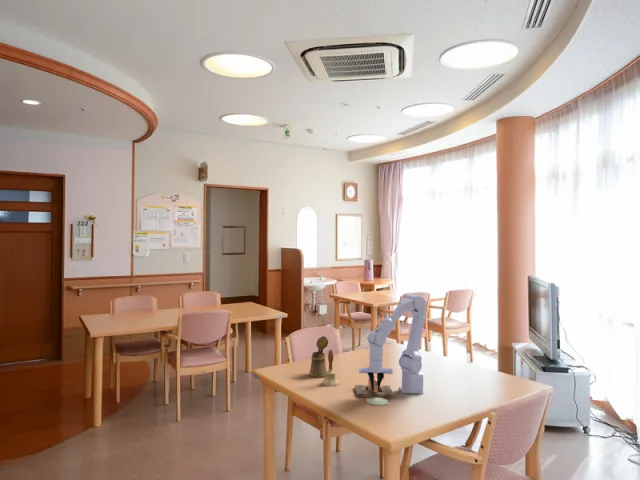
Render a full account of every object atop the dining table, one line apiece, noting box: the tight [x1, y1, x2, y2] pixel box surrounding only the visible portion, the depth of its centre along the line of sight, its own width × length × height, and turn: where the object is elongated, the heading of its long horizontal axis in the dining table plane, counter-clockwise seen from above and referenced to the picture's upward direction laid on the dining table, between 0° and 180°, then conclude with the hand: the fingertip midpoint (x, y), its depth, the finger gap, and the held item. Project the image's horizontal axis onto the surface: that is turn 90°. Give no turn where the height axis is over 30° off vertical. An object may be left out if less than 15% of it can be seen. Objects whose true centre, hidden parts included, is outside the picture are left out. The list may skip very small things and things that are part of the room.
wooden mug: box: [309, 335, 329, 379], centre depth 229 cm, size 9×14×18 cm, turn 163°
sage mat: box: [366, 397, 389, 406], centre depth 191 cm, size 9×9×1 cm
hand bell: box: [321, 349, 340, 387], centre depth 214 cm, size 8×8×16 cm
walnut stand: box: [354, 384, 395, 399], centre depth 202 cm, size 16×12×2 cm
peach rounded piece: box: [367, 377, 380, 392], centre depth 200 cm, size 9×5×6 cm, turn 1°
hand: (375, 389), depth 198 cm, fingers closed on peach rounded piece
